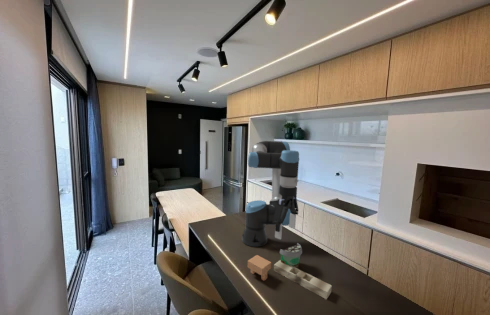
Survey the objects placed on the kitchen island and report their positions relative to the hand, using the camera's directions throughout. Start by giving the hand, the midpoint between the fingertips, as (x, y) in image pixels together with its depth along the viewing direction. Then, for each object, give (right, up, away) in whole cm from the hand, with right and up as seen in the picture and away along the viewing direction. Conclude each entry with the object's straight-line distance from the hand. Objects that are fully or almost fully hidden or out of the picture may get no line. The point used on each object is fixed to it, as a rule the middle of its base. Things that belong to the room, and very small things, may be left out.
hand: (285, 232), depth 90 cm
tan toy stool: (-12, -19, -1) cm, 22 cm away
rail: (+6, -20, -3) cm, 21 cm away
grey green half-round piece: (+5, -19, +6) cm, 21 cm away
